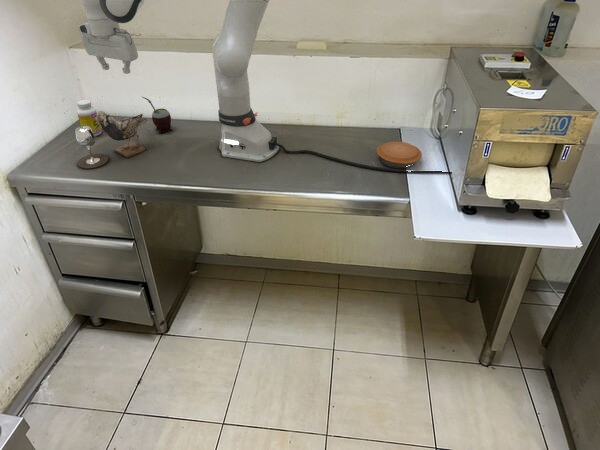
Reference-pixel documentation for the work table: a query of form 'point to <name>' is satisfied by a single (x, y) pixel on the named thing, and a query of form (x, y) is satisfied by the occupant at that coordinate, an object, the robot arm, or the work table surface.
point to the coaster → (102, 162)
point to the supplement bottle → (88, 116)
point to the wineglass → (86, 141)
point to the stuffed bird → (122, 131)
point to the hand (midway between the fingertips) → (116, 71)
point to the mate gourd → (161, 118)
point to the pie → (398, 154)
